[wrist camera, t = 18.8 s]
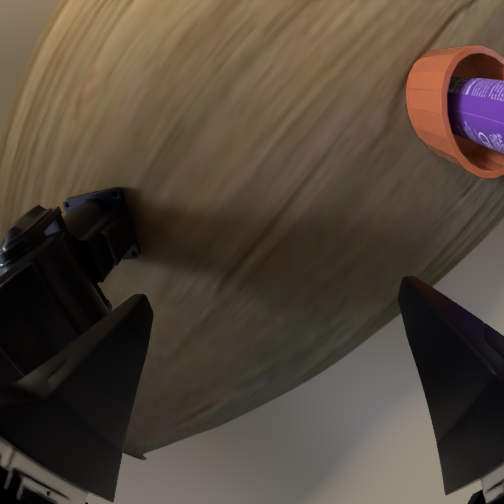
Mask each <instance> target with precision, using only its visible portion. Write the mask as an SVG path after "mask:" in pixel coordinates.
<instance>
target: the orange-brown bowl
mask: <svg viewBox="0 0 504 504" xmlns="http://www.w3.org/2000/svg"><path fill="white" fill-rule="evenodd" d="M451 77H472V78H484V79H494V80H502V81H504V58H503V57H502V56H500V55H499V54H498V53H497V52H496V51H494V50H491V49H489V48H486V47H483V46H480V45H478V46H464V47H454V48H445V49H438V50H433V51H430V52H427V53H426V54H424V55H422V56H421V57H420V58H419V59H418V60H417V61H416V63H415V64H414V65H413V67H412V69H411V71H410V74H409V76H408V80H407V86H406V104H407V110H408V114H409V117H410V121H411V123H412V125H413V128H414V130H415V131H416V133H417V135H418V136H419V138H420V139H421V141H422V142H423V143H424V144H425V145H426V146H427V147H428V148H429V149H430V150H432V151H433V152H435V153H436V154H437V155H439V156H441V157H443V158H445V159H447V160H449V161H451V162H453V163H455V164H457V165H459V166H460V167H462V168H464V169H466V170H468V171H469V172H471V173H473V174H475V175H477V176H479V177H481V178H497V177H499V176H502V175H504V155H503V154H501V153H499V152H497V151H495V150H492V149H490V148H488V147H485V146H483V145H481V144H478V143H476V142H473V141H471V140H468V139H466V138H463V137H460V136H458V135H455V134H453V133H452V131H451V127H450V122H449V118H448V108H447V92H448V88H449V83H450V78H451Z"/></svg>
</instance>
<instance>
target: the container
mask: <svg viewBox="0 0 504 504" xmlns="http://www.w3.org/2000/svg"><path fill="white" fill-rule="evenodd" d="M447 108H448V118H449V122H450V127H451V131H452V133H453V134H455V135H458V136H460V137H463V138H466V139H468V140H471V141H473V142H476V143H478V144H481V145H483V146H485V147H488V148H490V149H492V150H495V151H497V152H499V153H501V154H503V155H504V81H502V80H494V79H484V78H472V77H451V78H450V83H449V88H448V92H447Z"/></svg>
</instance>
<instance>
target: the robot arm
mask: <svg viewBox="0 0 504 504" xmlns="http://www.w3.org/2000/svg"><path fill="white" fill-rule="evenodd" d="M115 192H117V193H118V196H117V195H116V194H115ZM68 203H69V205H70V206H69V205H68ZM63 204H64V208H65V211H66V215H65V216H64V217H63V218H62V215H61V213H62V212H61V210H60V208H59V206H58V207H56V208H53V209H51V208H50V209H45V208H43V207H41V206H40V205H38V206H36V207H34V208H33V209H31V210H30V211H28V212H27V213H26V214H24V215H23V216H22V217H20V218H19V219H18V220H17V221H16V222H15V223H14V224H13V225H12V226H11V227H10V228H9V229H8V231H7V234H6V237H5V238H4V240H3V241H2V243H1V245H0V504H88V503H87V502H86V498H87V494H88V493H89V494H91V495H94V496H96V497H99V498H102V499H104V500H107V501H110V502H114V497H115V491H116V485H117V480H118V474H119V469H120V464H121V458H122V452H123V448H124V443H125V438H126V434H127V429H128V425H129V421H130V416H131V412H132V408H133V404H134V400H135V396H136V392H137V388H138V384H139V380H140V376H141V373H142V369H143V365H144V362H145V358H146V354H147V350H148V345H149V339H150V333H151V327H152V322H153V310H152V308H151V306H150V303H149V301H148V298H147V296H146V295H144V294H135V295H133V296H132V297H130V298H129V299H128V300H126V301H125V302H124V303H122V304H121V305H120V306H118V307H117V308H116V309H114V310H113V311H112V312H111V309H112V305H111V303H110V302H109V300H107V299H106V297H105V296H104V294H103V293H102V291H101V289H100V288H99V286H98V284H97V283H98V282H103V281H104V280H105V279H106V277H107V276H108V274H109V273H110V272H111V270H112V269H113V268H114V266H116V265H118V264H119V262H120V261H121V260H122V259H133V258H138V257H139V256H140V254H141V250H140V247H139V244H138V241H137V235H136V231H135V228H134V225H133V222H132V218H131V215H130V212H129V211H128V209H127V206H126V202H125V199H124V195H123V192H122V190H121V189H120V188H119V187H115V188H110V189H105V190H101V191H96V192H92V193H88V194H83V195H79V196H75V197H71V198H68V199H66V200H65V201H64V203H63ZM133 251H135V252H136V253H137V254H136V253H134V252H133ZM398 302H399V306H400V310H401V314H402V318H403V322H404V326H405V330H406V334H407V338H408V342H409V345H410V347H411V351H412V354H413V357H414V360H415V363H416V366H417V369H418V372H419V376H420V379H421V383H422V386H423V390H424V393H425V397H426V400H427V404H428V408H429V412H430V416H431V420H432V424H433V429H434V433H435V438H436V442H437V448H438V453H439V458H440V464H441V469H442V476H443V483H444V490H445V495H448V494H451V493H453V492H455V491H458V490H460V489H462V488H465V487H467V486H469V485H471V484H473V483H475V482H477V481H479V480H481V484H482V490H480V491H478V492H476V493H474V494H473V495H472V497H471V498H470V500H469V502H468V504H504V336H503V335H501V334H500V333H498V332H497V331H495V330H494V329H493V328H491V327H490V326H489V325H487V324H486V323H484V322H483V321H482V320H480V319H479V318H477V317H476V316H474V315H473V314H471V313H470V312H468V311H467V310H466V309H464V308H463V307H461V306H460V305H458V304H457V303H455V302H454V301H452V300H451V299H449V298H448V297H446V296H445V295H443V294H442V293H440V292H439V291H437V290H435V289H434V288H432V287H431V286H429V285H428V284H426V283H425V282H423V281H422V280H420V279H418V278H417V277H415V276H405V277H403V278H402V281H401V285H400V290H399V295H398Z"/></svg>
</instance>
